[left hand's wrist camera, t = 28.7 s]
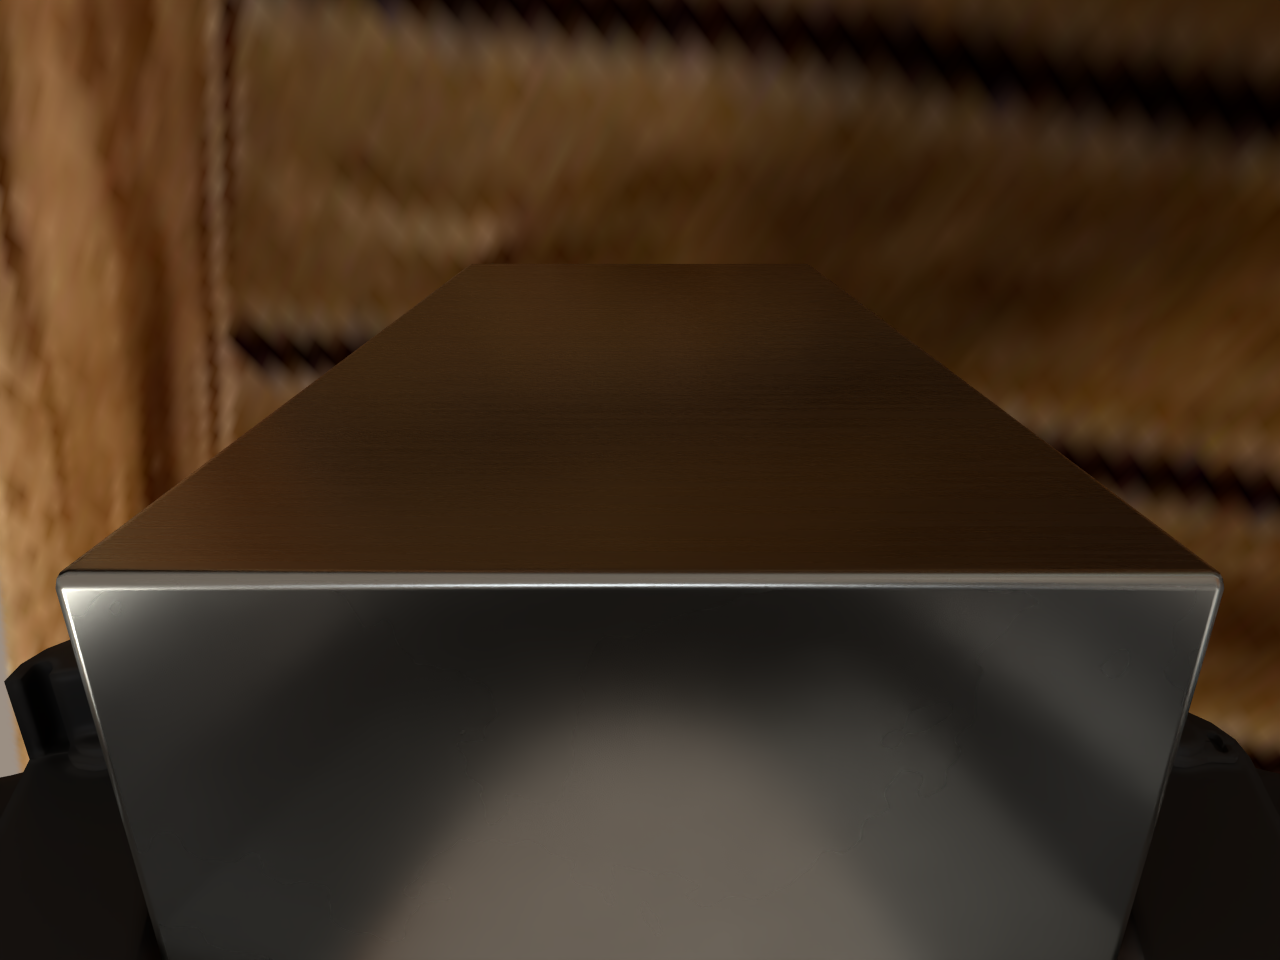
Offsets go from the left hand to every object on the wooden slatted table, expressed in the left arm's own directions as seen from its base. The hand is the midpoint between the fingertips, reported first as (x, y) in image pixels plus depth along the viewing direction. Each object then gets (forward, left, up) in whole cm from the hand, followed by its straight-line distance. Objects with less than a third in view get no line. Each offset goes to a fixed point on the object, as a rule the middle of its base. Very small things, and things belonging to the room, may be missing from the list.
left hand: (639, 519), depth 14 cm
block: (0, 0, -3) cm, 3 cm away
